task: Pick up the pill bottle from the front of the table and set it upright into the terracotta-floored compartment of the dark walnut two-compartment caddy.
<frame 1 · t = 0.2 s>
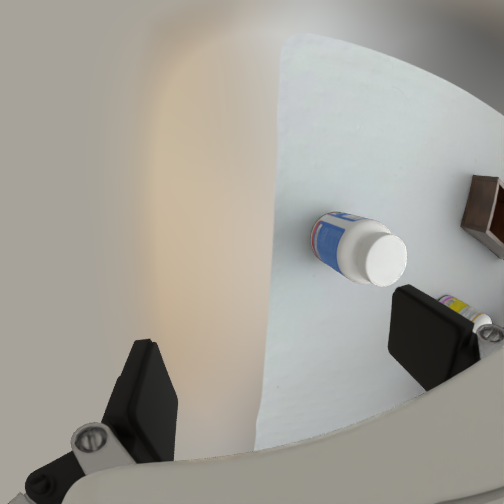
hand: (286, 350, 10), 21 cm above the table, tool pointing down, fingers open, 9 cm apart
pill bottle: (333, 236, 32), on the table
caddy: (489, 220, 36), on the table
supplement bottle: (440, 312, 38), on the table
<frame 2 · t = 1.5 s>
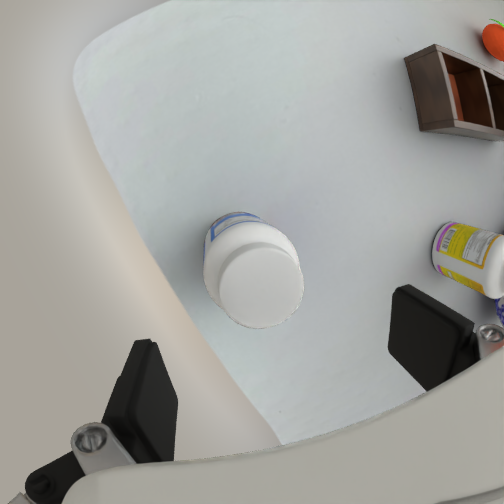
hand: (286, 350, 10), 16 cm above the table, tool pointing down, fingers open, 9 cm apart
clementine: (484, 44, 22), on the table
pill bottle: (239, 244, 25), on the table
caddy: (458, 102, 24), on the table
supplement bottle: (445, 246, 29), on the table
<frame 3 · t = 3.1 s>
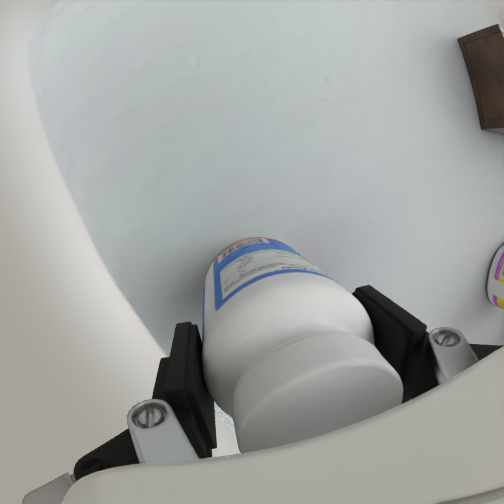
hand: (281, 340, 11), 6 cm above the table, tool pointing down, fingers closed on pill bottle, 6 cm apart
pill bottle: (256, 285, 17), on the table, touching gripper
supplement bottle: (499, 271, 20), on the table
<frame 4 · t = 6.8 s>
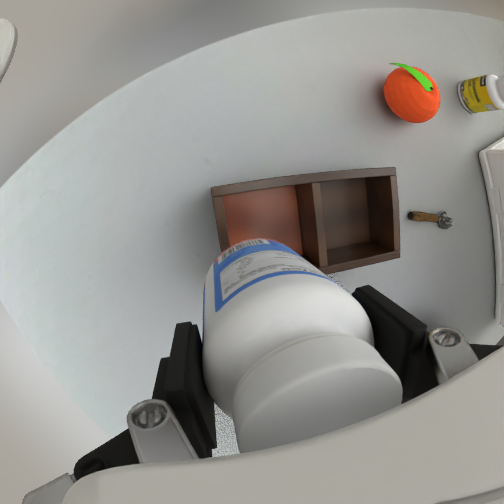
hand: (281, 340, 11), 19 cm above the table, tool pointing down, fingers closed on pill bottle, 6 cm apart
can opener: (429, 219, 32), on the table
clementine: (391, 97, 27), on the table
pill bottle: (256, 286, 17), point 13 cm above the table, touching gripper
supplement bottle 2: (465, 97, 29), on the table
caddy: (301, 217, 29), on the table
when the fingers open (7 cm above the table, at t = 10.2 s): pill bottle stays where it is, resting on caddy.
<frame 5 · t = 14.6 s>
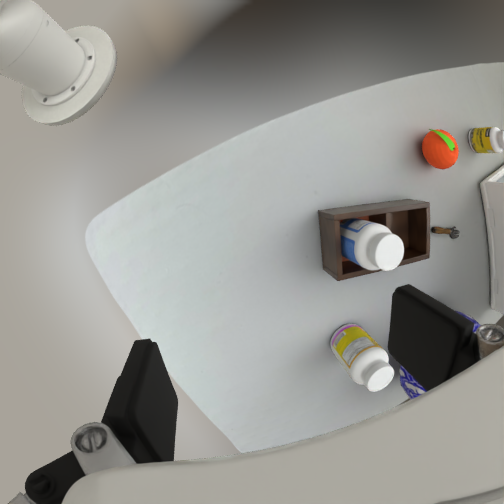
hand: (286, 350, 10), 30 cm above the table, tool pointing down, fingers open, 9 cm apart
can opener: (444, 231, 45), on the table
clementine: (425, 148, 40), on the table
pill bottle: (348, 236, 41), point 1 cm above the table, touching caddy
ornament: (419, 339, 50), on the table
supplement bottle 2: (473, 140, 42), on the table
caddy: (369, 232, 42), on the table
supplement bottle: (345, 337, 47), on the table
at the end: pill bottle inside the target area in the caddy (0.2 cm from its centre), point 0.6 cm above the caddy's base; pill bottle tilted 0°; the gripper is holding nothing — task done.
